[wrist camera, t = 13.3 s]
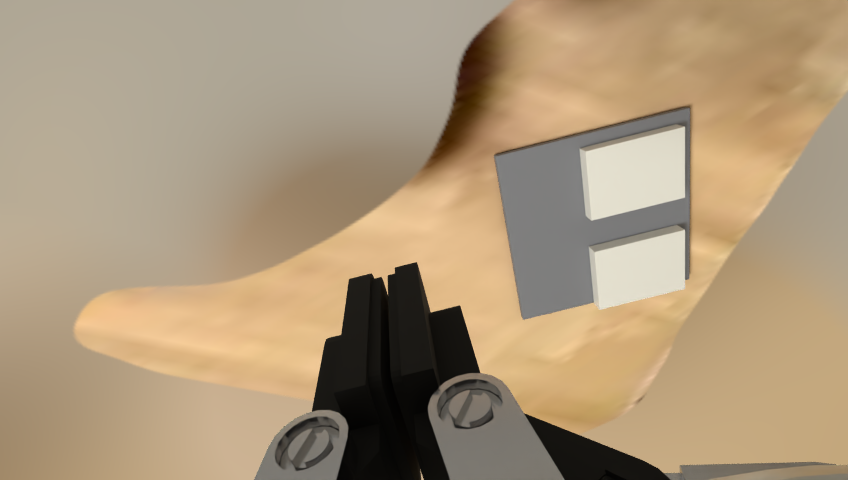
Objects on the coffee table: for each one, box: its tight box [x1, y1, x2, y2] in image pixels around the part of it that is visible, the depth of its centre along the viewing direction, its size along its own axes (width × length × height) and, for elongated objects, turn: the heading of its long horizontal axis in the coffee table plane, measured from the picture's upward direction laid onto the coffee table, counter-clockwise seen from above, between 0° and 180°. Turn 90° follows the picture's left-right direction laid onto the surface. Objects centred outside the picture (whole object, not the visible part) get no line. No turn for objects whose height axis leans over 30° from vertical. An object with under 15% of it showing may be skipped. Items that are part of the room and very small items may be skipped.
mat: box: [494, 107, 690, 320], centre depth 40 cm, size 16×16×1 cm
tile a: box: [579, 124, 685, 221], centre depth 38 cm, size 6×1×8 cm
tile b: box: [589, 225, 685, 310], centre depth 41 cm, size 6×1×8 cm
